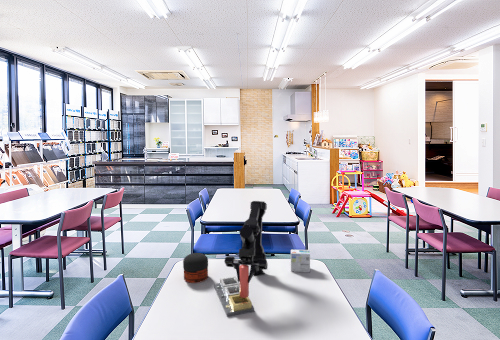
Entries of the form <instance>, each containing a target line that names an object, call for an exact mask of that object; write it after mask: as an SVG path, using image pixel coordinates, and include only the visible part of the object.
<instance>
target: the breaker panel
mask: <svg viewBox="0 0 500 340" xmlns="http://www.w3.org/2000/svg"><path fill="white" fill-rule="evenodd" d="M213 287H214V290H215V292H216V295H217V297H218V299H219V302H220V304H221V306H222V308H223V310H224V313H225V315H226V317H231V316H237V315H238V316H239V315H242V314H243V315H244V314H247V313H253V312H255V307H254V305H253V303H252V301H251V299H250V298H249V296H248V297H246V298H243V297H240V281H239V282H238V278H237V277H236V276H229V277H222V278H219V283H214V284H213Z"/></svg>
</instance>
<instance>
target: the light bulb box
mask: <svg viewBox="0 0 500 340" xmlns="http://www.w3.org/2000/svg"><path fill="white" fill-rule="evenodd" d="M291 271H294V272H295V273H310V272H311V253H310V249H290V272H291ZM294 272H293V273H294Z"/></svg>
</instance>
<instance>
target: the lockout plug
mask: <svg viewBox="0 0 500 340" xmlns="http://www.w3.org/2000/svg"><path fill="white" fill-rule="evenodd" d="M249 267H250V265H240V266H239V273H240V281H239V283H240V297H243V298H246V297H249V296H250V295H249V294H250V291H249V289H250V288H249V287H250V282H249V283H248V277H249V273H250V269H249Z"/></svg>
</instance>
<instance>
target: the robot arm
mask: <svg viewBox="0 0 500 340" xmlns="http://www.w3.org/2000/svg"><path fill="white" fill-rule="evenodd" d="M267 206H268V204H267V202H265V201H262V200H261V201H259V200H253V201H250V212H249V217H248V218H247V219H246V220H245V221H244V224H243V225H242V227H241V229H240V230H239V236H240V239H241V241H242V244H241V245H242V246H241V248H239V249H238V259H236V258H235V256H228V255H227V256H225V258H224V261H223V262H224V264H225V266H226V267H229V268H233V269H234V270H235V271H236V272H235V273H236V276H237V277H236V278H237V280H238V282H239V283H240V273H239V266H240V265H248V266H250V269H249V277H248V283H249V284H250V282H251V280H252V278H253V277H254V276H260V275H265V274H266V273H265V270H268V266H269V265H268V261H267V255H266V252H265V249H264V246H263V245H262V236H263V235H262V234H263V218H264V216H265V214H266V210H267V208H268V207H267Z"/></svg>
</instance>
